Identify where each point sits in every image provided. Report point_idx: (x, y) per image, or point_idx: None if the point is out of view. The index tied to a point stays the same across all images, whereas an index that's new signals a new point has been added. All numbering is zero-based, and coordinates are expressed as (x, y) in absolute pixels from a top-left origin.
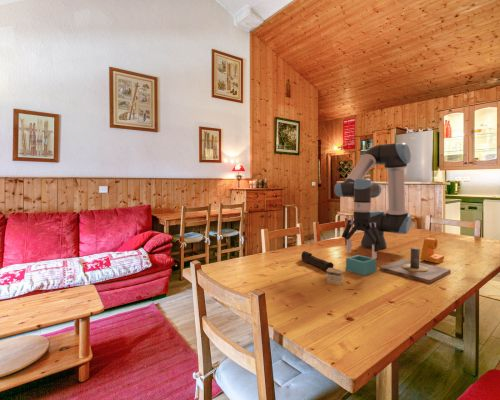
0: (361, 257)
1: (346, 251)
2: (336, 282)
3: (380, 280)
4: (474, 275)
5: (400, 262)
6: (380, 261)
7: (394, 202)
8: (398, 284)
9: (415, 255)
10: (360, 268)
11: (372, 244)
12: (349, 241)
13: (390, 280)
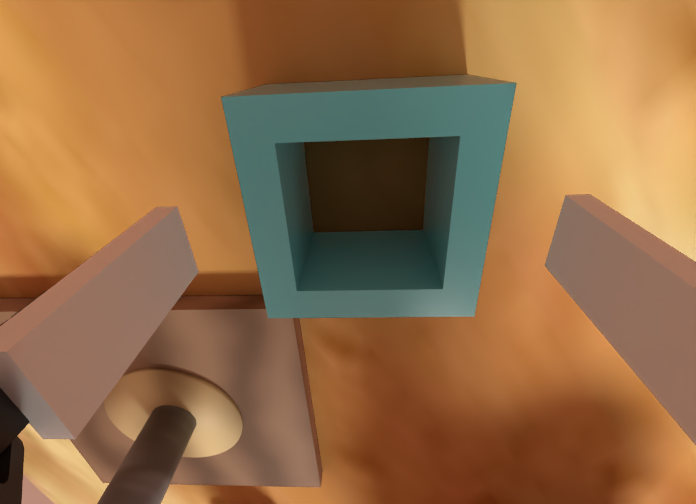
0: (410, 282)
1: (596, 199)
2: None
3: (120, 96)
4: (59, 486)
5: (284, 443)
6: (397, 417)
7: None
8: (8, 133)
9: (105, 495)
10: (296, 87)
11: (9, 358)
12: (685, 355)
13: (98, 164)
